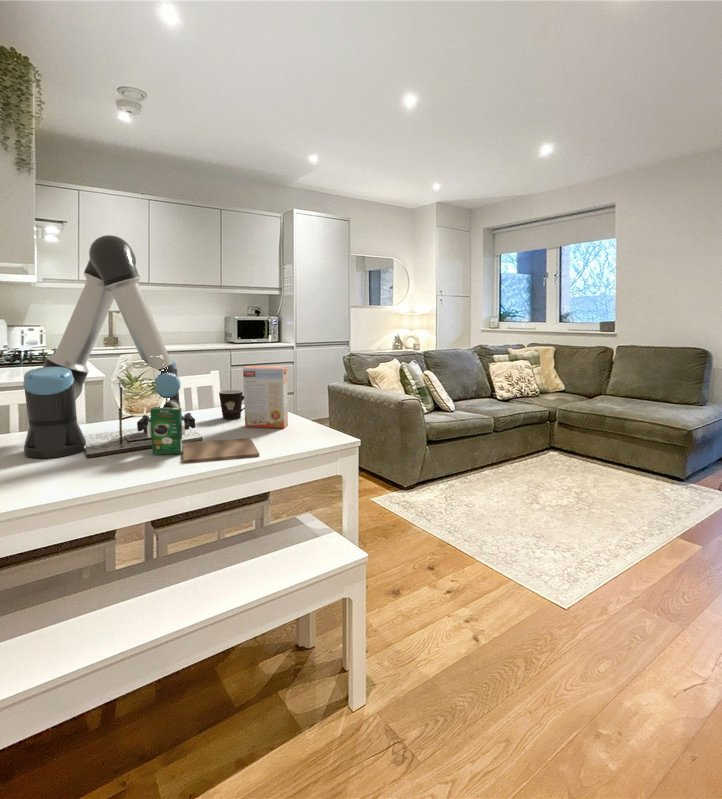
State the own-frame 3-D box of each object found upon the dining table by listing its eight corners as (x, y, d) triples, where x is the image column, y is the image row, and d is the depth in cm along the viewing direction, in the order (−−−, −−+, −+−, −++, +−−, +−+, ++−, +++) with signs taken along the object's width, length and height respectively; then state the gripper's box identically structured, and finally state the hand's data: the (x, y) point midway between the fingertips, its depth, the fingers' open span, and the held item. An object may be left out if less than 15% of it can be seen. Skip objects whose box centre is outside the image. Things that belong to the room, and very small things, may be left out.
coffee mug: (215, 419, 183) (214, 392, 182) (228, 414, 191) (227, 389, 190) (243, 421, 180) (242, 394, 178) (254, 417, 188) (254, 391, 186)
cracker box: (288, 424, 176) (287, 366, 173) (284, 429, 170) (283, 368, 167) (250, 423, 178) (248, 365, 174) (244, 427, 172) (242, 367, 168)
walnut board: (183, 463, 132) (183, 460, 132) (182, 445, 149) (182, 442, 149) (259, 456, 139) (259, 453, 139) (250, 440, 156) (250, 437, 156)
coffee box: (184, 451, 142) (181, 406, 140) (181, 454, 139) (179, 408, 137) (154, 452, 141) (151, 406, 139) (151, 455, 138) (148, 408, 136)
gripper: (202, 423, 159) (207, 441, 139) (131, 428, 152) (124, 447, 131) (201, 400, 158) (206, 415, 137) (130, 404, 151) (122, 420, 130)
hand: (166, 431), depth 134 cm, fingers closed on coffee box, 8 cm apart
